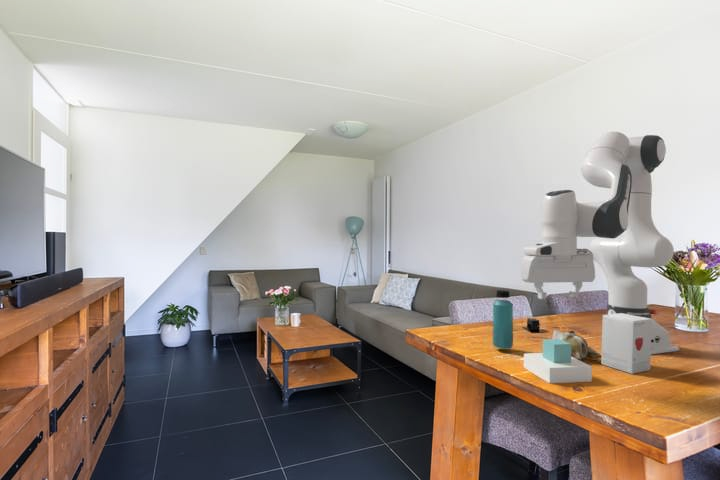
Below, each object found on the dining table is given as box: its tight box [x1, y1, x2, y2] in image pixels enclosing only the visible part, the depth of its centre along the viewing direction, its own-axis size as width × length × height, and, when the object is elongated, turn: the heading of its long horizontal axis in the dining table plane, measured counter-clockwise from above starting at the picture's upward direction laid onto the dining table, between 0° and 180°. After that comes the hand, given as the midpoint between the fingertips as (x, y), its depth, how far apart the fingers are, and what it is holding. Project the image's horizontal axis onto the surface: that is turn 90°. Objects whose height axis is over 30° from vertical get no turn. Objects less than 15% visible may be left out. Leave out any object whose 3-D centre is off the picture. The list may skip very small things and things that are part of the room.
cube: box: [542, 338, 571, 363], centre depth 104 cm, size 5×5×5 cm
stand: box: [523, 352, 593, 384], centre depth 104 cm, size 12×12×4 cm
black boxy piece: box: [521, 317, 547, 334], centre depth 154 cm, size 13×8×5 cm, turn 1°
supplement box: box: [600, 313, 653, 375], centre depth 110 cm, size 9×9×15 cm
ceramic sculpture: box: [551, 329, 602, 361], centre depth 119 cm, size 11×9×15 cm
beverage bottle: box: [492, 289, 514, 350], centre depth 125 cm, size 6×7×20 cm
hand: (557, 298), depth 104 cm, fingers open, 8 cm apart
